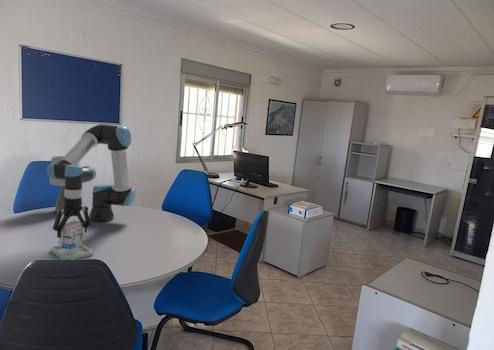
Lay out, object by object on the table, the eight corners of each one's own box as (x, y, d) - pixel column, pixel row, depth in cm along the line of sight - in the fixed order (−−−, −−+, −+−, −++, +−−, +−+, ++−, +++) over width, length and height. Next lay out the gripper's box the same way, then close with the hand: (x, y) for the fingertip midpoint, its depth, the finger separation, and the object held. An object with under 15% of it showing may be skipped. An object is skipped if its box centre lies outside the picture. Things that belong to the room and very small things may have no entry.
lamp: (58, 216, 219) (59, 160, 213) (43, 210, 228) (43, 156, 223) (85, 211, 235) (86, 159, 229) (69, 206, 244) (71, 155, 239)
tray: (78, 245, 176) (78, 241, 176) (92, 255, 166) (92, 251, 166) (50, 251, 166) (50, 246, 166) (64, 262, 156) (64, 257, 156)
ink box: (70, 250, 161) (70, 226, 159) (61, 248, 162) (61, 224, 160) (82, 244, 169) (82, 221, 167) (73, 242, 170) (74, 220, 168)
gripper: (92, 193, 173) (90, 235, 176) (44, 197, 156) (44, 243, 159) (99, 196, 168) (97, 239, 171) (51, 201, 151) (50, 248, 154)
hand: (71, 241), depth 165 cm, fingers closed on ink box, 9 cm apart
